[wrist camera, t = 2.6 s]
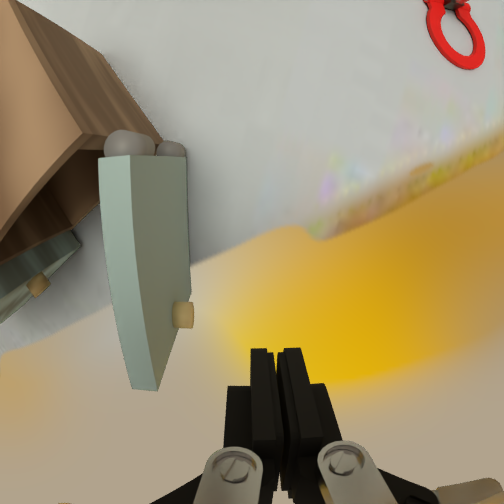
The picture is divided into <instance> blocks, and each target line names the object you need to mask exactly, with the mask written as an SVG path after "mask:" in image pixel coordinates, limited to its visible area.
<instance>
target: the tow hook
mask: <svg viewBox="0 0 504 504" xmlns="http://www.w3.org/2000/svg"><path fill="white" fill-rule="evenodd" d="M423 1H424V2H425V3H427V5H428V7H429V10H428V12H427V18H426V20H427V27H428V30H429V33H430V36H431V38H432V40H433V42H434V44H435V46H436V47H437V48H438V50H439V51H440V52H441V54H442V55H443V56H444V57H445V58H446V59H447V60H448V61H450V62H451V63H452V64H454V65H455V66H457V67H460V68H462V69H469V70H470V69H474V68H478V67H479V66H480V65H481V64H482V63H483V61H484V58H485V43H484V40H483V37H482V34H481V32H480V30H479V28H478V26H477V25H476V23H475V22H474V20H473V19H472V18H471V15H470V13H469V12H470V10H471V8H470V5H469V4H468V3H465V2H467V1H469V0H423ZM444 8H447V9H451V10H455V12H456V15H457V17H458V19H459V20H461V21H462V22H463V23H464V24H465V26H466V27H467V28H468V30H469V32H470V34H471V36H472V39H473V44H474V47H473V52H472V54H471V55H470V56H463V55H461V54H459V53H458V52H456V51H455V50H454V49H453V48H452V47H451V46H450V45H449V43H448V42H447V41H446V39H445V37H444V35H443V33H442V30H441V24H440V23H441V18H442V16H443V15H444V14H445V13H446V12H445V9H444Z"/></svg>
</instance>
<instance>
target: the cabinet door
mask: <svg viewBox="0 0 504 504" xmlns="http://www.w3.org/2000/svg"><path fill="white" fill-rule="evenodd" d="M154 152H155V144H154V142H153V140H152V139H151V138H150V137H149V136H147V135H144V134H140V133H136V132H131V131H127V130H117V131H114V132H113V133H111V134H110V135H109V136H108V138H107V139H106V141H105V144H104V154H105V158H98V171H99V193H100V209H101V221H102V232H103V241H104V250H105V258H106V266H107V273H108V280H109V286H110V292H111V298H112V304H113V309H114V314H115V320H116V325H117V329H118V334H119V339H120V343H121V348H122V352H123V356H124V360H125V364H126V368H127V372H128V376H129V380H130V383H131V387H132V389H138V390H148V391H158V389H159V386H160V382H161V379H162V376H163V373H164V370H165V367H166V364H167V361H168V358H169V355H170V352H171V349H172V346H173V343H174V341H175V338H176V335H177V332H178V329H179V328H193V323H194V306H193V303H192V302H188V301H189V298H190V295H191V277H190V260H189V240H188V215H187V167H186V157H185V148H184V146H183V145H181V144H180V143H176V142H172V141H164V142H162V143H160V144H159V146H158V147H157V151H156V154H157V156H153V155H154Z"/></svg>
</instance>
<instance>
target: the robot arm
mask: <svg viewBox="0 0 504 504" xmlns="http://www.w3.org/2000/svg"><path fill="white" fill-rule="evenodd" d="M250 371H251V372H250V373H251V374H250V378H251V379H250V386H228V390H227V402H226V417H225V431H224V446H223V448H222V449H220V450H218V451H216V452H214V453H213V454H212V455H211V456H210V457H209V459H208V460H207V462H206V465H205V469H204V471H203V474H201V475H200V476H198V477H196V478H195V479H193V480H191V481H190V482H188V483H186V484H185V485H183V486H181V487H179V488H178V489H176V490H174V491H172V492H171V493H169V494H167V495H165V496H163V497H162V498H160V499H158V500H156V501H154V502H152V503H150V504H272V498H273V491H277V485H278V479H279V473H280V481H281V489H282V491H288V498H293V502H294V503H295V504H504V491H503V489H502V487H501V485H500V483H499V482H498V481H496V480H495V479H492V478H483V479H479V480H474V481H470V482H465V483H460V484H454V485H449V486H442V487H438V488H437V489H436V490H432V491H431V490H429V489H427V488H425V487H422V486H420V485H417V484H415V483H412V482H409V481H407V480H404V479H402V478H399V477H397V476H395V475H392V474H390V473H388V472H385V471H383V470H381V469H378V468H377V467H376V465H375V464H374V462H373V460H372V458H371V457H370V455H369V453H368V452H367V451H366V449H365V448H364V447H362V446H361V445H359V444H357V443H354V442H351V441H343V440H342V437H341V433H340V430H339V427H338V424H337V421H336V417H335V414H334V411H333V408H332V405H331V401H330V398H329V395H328V392H327V389H326V386H325V384H324V383H319V384H310V381H309V377H308V373H307V370H306V366H305V362H304V359H303V355H302V351H301V348H284V351H283V352H278V355H277V370H275V363H274V355H273V352H272V353H267V349H266V348H263V349H262V348H259V349H251V367H250ZM59 504H70V503H59Z"/></svg>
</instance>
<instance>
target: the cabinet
mask: <svg viewBox="0 0 504 504" xmlns="http://www.w3.org/2000/svg"><path fill="white" fill-rule="evenodd" d="M117 130H127V131H131V132H136V133H140V134H144V135H147V136H149V137H150V138H151V139H152V140H153V142H154V144H155V152H154V155H153V156H155V155H156V151H157V147H158V146H159V144H160V143H162V142H164V141H163V139H162V138H161V137H160V135H159V134H158V133H157V131H156V130H155V128H154V127H153V126H152V124H151V123H150V121H149V120H148V119H147V117H146V116H145V114H144V113H143V112H142V110H141V109H140V107H139V106H138V105H137V103H136V102H135V100H134V99H133V98H132V96H131V95H130V93H129V92H128V91H127V89H126V88H125V86H124V85H123V84H122V82H121V81H120V79H119V78H118V77H117V75H116V74H115V72H114V71H113V70H112V68H111V67H110V65H109V64H108V63H107V61H106V60H105V58H104V57H103V55H102V54H101V53H100V52H98V51H97V50H95V49H94V48H92V47H91V46H89V45H88V44H86V43H85V42H83V41H82V40H80V39H79V38H77V37H76V36H74V35H72V34H71V33H69V32H68V31H66V30H65V29H63V28H62V27H60V26H58V25H57V24H55V23H54V22H52V21H50V20H49V19H47V18H45V17H44V16H42V15H41V14H39V13H37V12H36V11H34V10H32V9H30V8H29V7H27V6H25V5H24V4H22V3H20V2H18V1H17V0H0V324H1V323H2V322H4V321H5V320H6V319H7V318H8V317H9V316H11V315H12V314H13V313H14V312H16V311H17V310H18V309H19V308H20V307H22V306H23V305H24V304H25V303H26V302H27V301H28V300H29V299H30V298H31V297H32V295H33V296H34V297H35V298H36V297H37V296H39V295H40V294H41V293H42V292H43V291H44V290H45V289H46V288H47V287H48V286H49V285H50V284H51V283H50V282H49V280H48V278H49V277H50V276H51V275H52V274H53V273H54V272H55V271H56V270H57V269H58V268H59V267H60V266H61V265H62V264H63V263H64V262H65V261H66V260H67V259H68V258H69V257H70V256H71V255H72V254H73V253H74V252H75V251H76V250H77V249H78V248H79V247H80V246H81V245H80V244H79V243H78V241H77V240H76V238H75V237H74V236H73V234H72V233H71V230H72V229H73V228H74V227H75V226H76V225H77V224H78V223H79V222H80V221H81V220H82V219H83V218H84V217H85V216H86V215H87V214H88V213H89V212H90V211H91V210H92V209H93V208H94V207H96V206H97V205H98V204H99V203H100V193H99V171H98V158H105V154H104V144H105V141H106V139H107V138H108V136H109V135H110V134H111V133H113V132H114V131H117Z"/></svg>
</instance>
